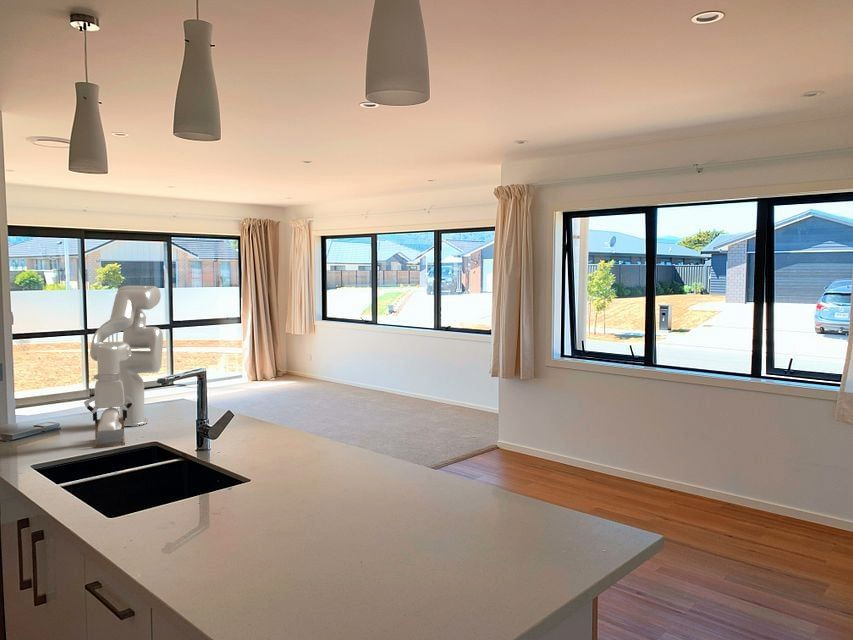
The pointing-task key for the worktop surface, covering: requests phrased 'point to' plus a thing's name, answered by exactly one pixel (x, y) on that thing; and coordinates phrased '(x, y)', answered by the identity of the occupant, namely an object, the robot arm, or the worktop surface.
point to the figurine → (109, 420)
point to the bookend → (109, 436)
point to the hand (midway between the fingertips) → (110, 421)
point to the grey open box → (109, 444)
